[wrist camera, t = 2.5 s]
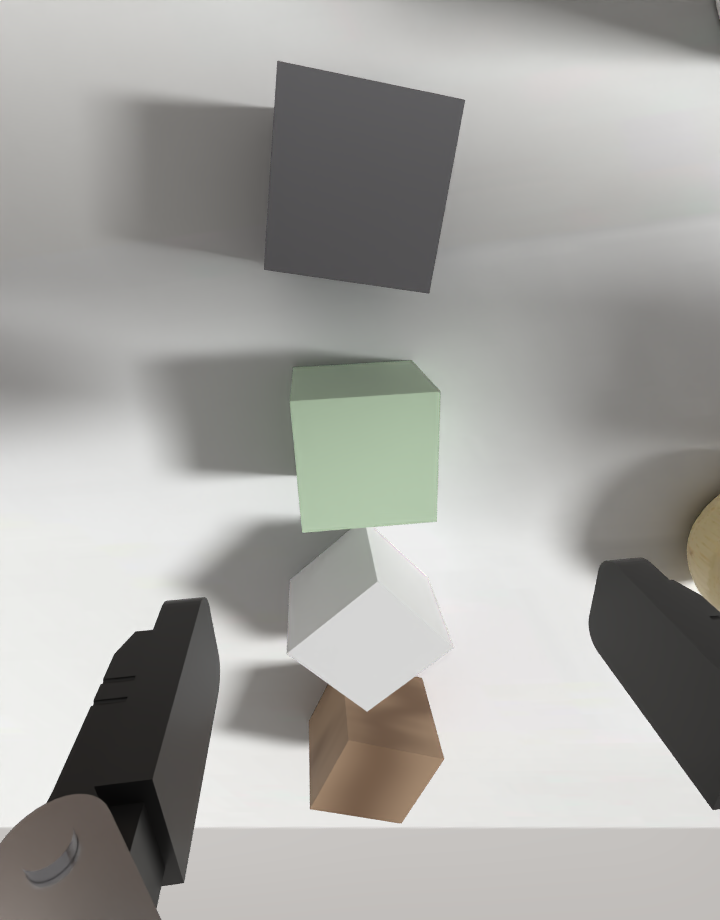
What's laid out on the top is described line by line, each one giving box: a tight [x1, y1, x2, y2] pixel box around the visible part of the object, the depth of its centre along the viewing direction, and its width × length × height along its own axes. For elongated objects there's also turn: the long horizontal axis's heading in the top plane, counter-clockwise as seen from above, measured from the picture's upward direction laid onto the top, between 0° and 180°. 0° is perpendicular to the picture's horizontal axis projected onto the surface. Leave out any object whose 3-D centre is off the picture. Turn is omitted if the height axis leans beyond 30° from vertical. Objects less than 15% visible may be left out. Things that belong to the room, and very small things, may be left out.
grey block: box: [287, 527, 454, 711], centre depth 23 cm, size 5×5×5 cm
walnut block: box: [309, 677, 444, 823], centre depth 27 cm, size 5×5×5 cm
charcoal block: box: [264, 61, 465, 293], centre depth 16 cm, size 5×5×5 cm
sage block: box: [290, 360, 440, 533], centre depth 20 cm, size 5×5×5 cm
